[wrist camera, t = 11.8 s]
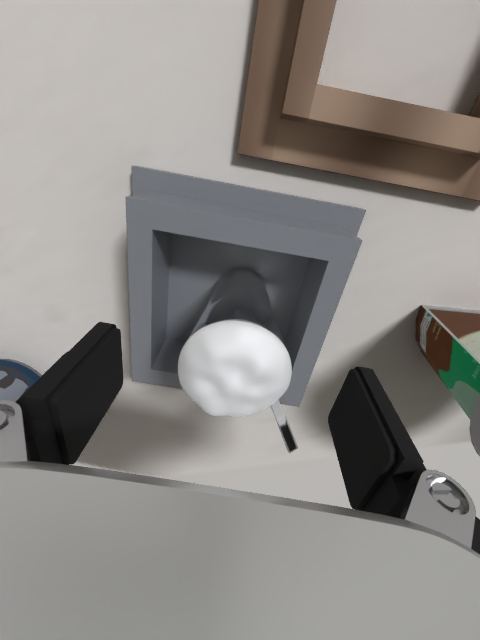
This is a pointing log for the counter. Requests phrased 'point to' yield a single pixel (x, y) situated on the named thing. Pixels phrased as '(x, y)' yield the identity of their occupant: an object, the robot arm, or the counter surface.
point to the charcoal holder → (231, 265)
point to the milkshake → (238, 354)
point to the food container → (454, 356)
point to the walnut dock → (346, 114)
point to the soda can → (15, 379)
